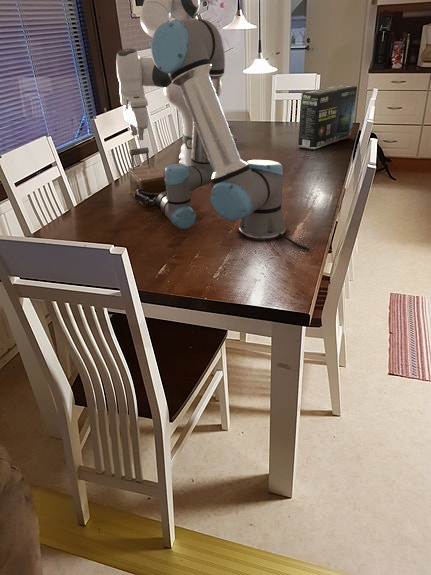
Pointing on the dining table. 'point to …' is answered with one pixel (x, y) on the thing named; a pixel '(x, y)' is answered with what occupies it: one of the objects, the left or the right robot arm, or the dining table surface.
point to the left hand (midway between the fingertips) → (137, 137)
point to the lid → (144, 168)
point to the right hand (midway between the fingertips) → (150, 186)
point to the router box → (326, 115)
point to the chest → (147, 186)
